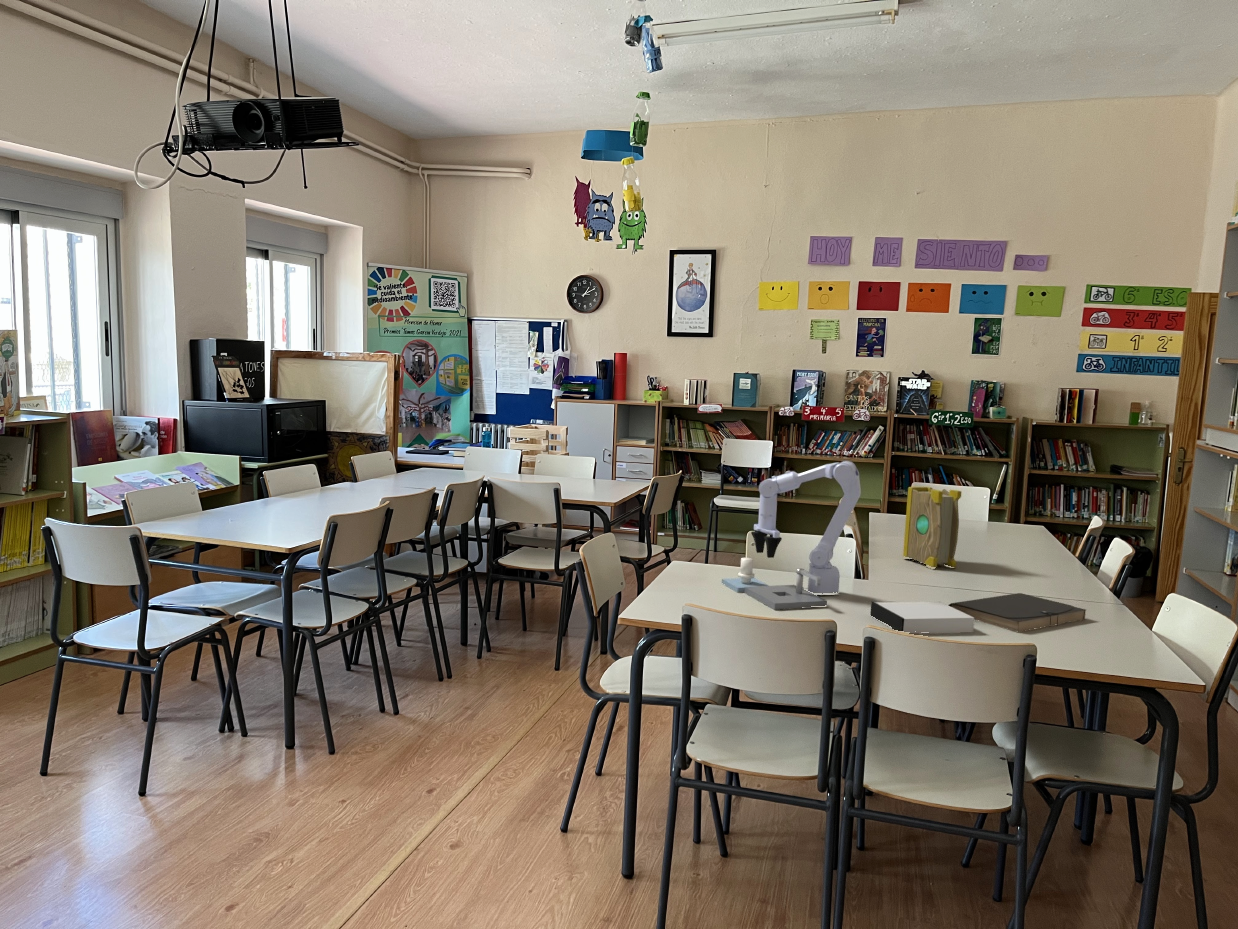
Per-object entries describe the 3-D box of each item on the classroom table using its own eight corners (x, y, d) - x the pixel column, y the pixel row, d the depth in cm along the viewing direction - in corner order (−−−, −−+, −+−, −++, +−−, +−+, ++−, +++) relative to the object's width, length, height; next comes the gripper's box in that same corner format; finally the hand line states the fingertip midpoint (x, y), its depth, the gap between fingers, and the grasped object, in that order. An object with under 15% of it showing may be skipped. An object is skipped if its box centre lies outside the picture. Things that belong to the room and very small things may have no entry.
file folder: (1019, 620, 238) (948, 600, 258) (1018, 634, 238) (947, 613, 259) (1087, 608, 254) (1015, 590, 275) (1086, 621, 255) (1014, 603, 275)
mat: (753, 582, 286) (753, 577, 286) (770, 590, 274) (770, 586, 274) (721, 583, 282) (721, 578, 282) (737, 592, 271) (737, 587, 271)
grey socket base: (793, 590, 276) (795, 565, 275) (826, 607, 257) (828, 580, 256) (744, 592, 270) (745, 567, 270) (774, 610, 251) (776, 582, 251)
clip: (794, 576, 265) (795, 568, 265) (801, 576, 266) (801, 568, 266) (815, 586, 254) (815, 577, 254) (822, 585, 255) (822, 577, 255)
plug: (749, 580, 281) (750, 556, 281) (756, 584, 276) (758, 560, 276) (734, 580, 280) (736, 557, 279) (741, 584, 275) (743, 560, 274)
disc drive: (869, 617, 249) (870, 601, 249) (938, 616, 254) (939, 600, 253) (900, 636, 232) (901, 618, 232) (973, 634, 236) (975, 617, 236)
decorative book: (900, 558, 335) (906, 484, 332) (923, 558, 338) (929, 484, 335) (933, 570, 316) (940, 491, 313) (957, 569, 319) (964, 491, 316)
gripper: (746, 511, 284) (744, 550, 286) (767, 518, 271) (764, 560, 272) (765, 511, 287) (763, 550, 288) (786, 518, 273) (783, 559, 274)
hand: (765, 555), depth 280 cm, fingers open, 7 cm apart
